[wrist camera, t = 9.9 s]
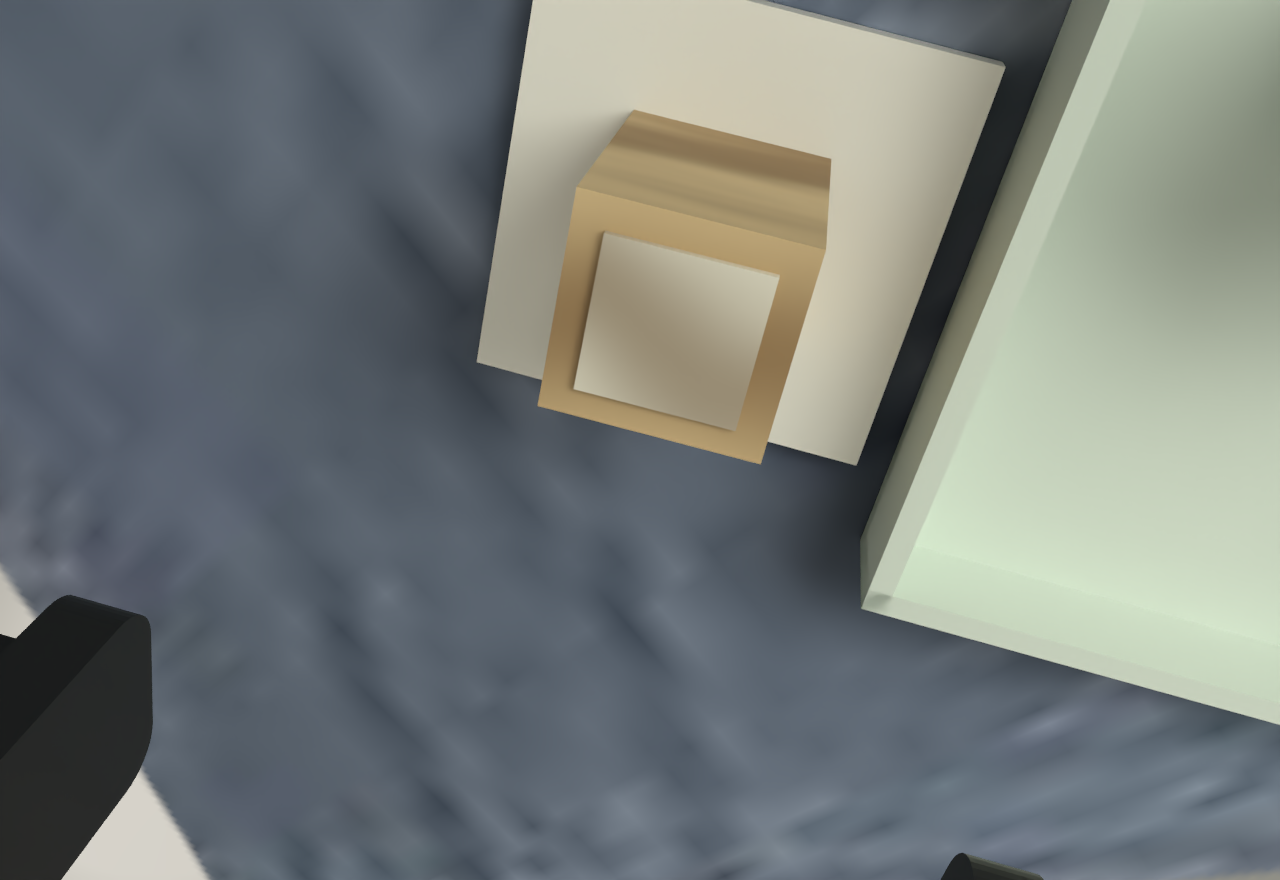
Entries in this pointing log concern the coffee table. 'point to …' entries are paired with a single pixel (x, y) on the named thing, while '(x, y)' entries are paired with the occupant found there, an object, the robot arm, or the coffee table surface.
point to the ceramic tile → (765, 111)
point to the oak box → (687, 284)
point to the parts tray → (1113, 373)
